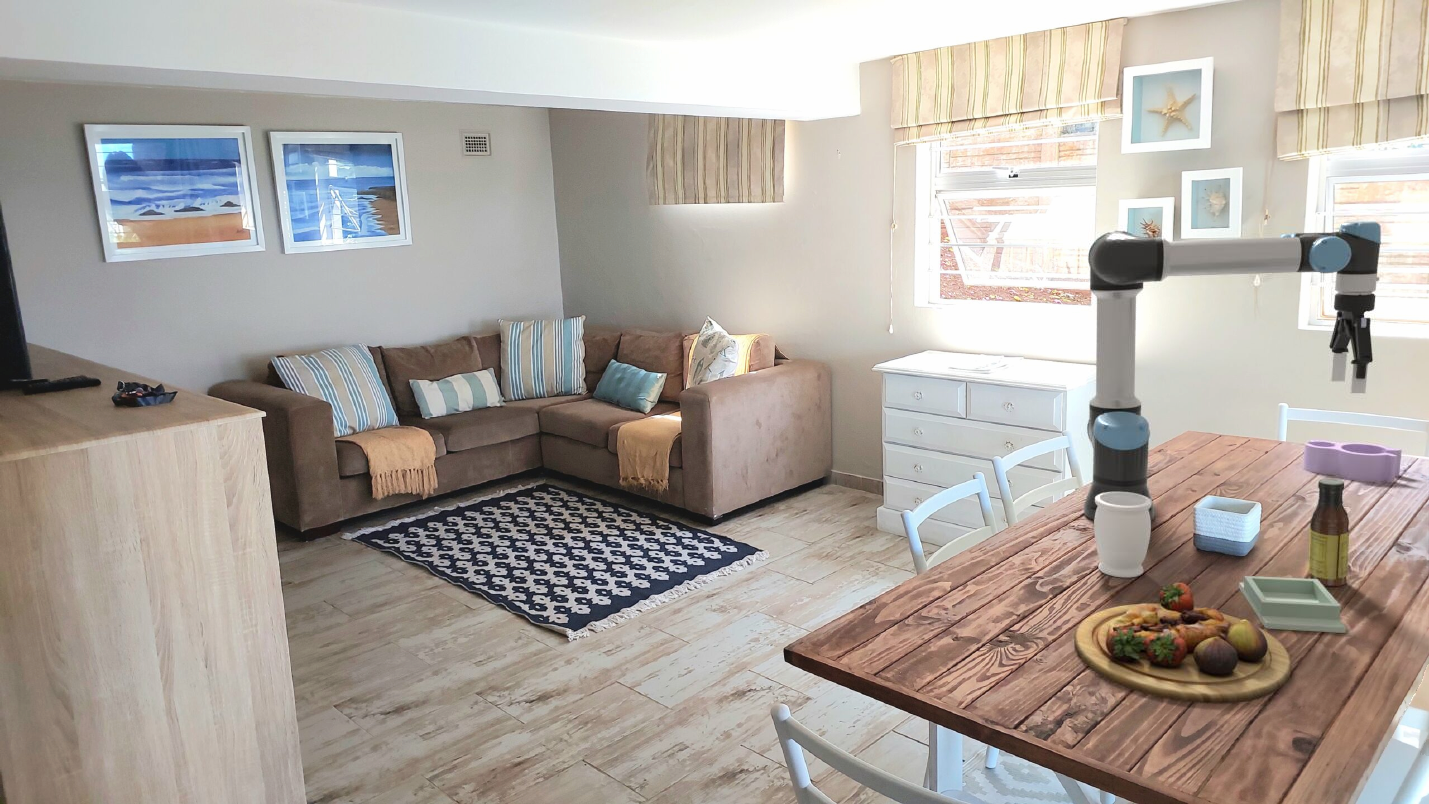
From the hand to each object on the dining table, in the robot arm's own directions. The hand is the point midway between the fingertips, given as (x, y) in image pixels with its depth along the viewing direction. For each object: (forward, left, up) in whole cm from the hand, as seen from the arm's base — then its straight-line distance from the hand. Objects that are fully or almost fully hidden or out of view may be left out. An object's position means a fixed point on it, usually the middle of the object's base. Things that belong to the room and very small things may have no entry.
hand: (1347, 387), depth 217 cm
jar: (-53, -47, -28) cm, 76 cm away
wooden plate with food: (-49, -83, -29) cm, 100 cm away
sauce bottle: (-17, -48, -28) cm, 58 cm away
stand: (-27, -62, -28) cm, 73 cm away
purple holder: (+11, +28, -28) cm, 42 cm away
